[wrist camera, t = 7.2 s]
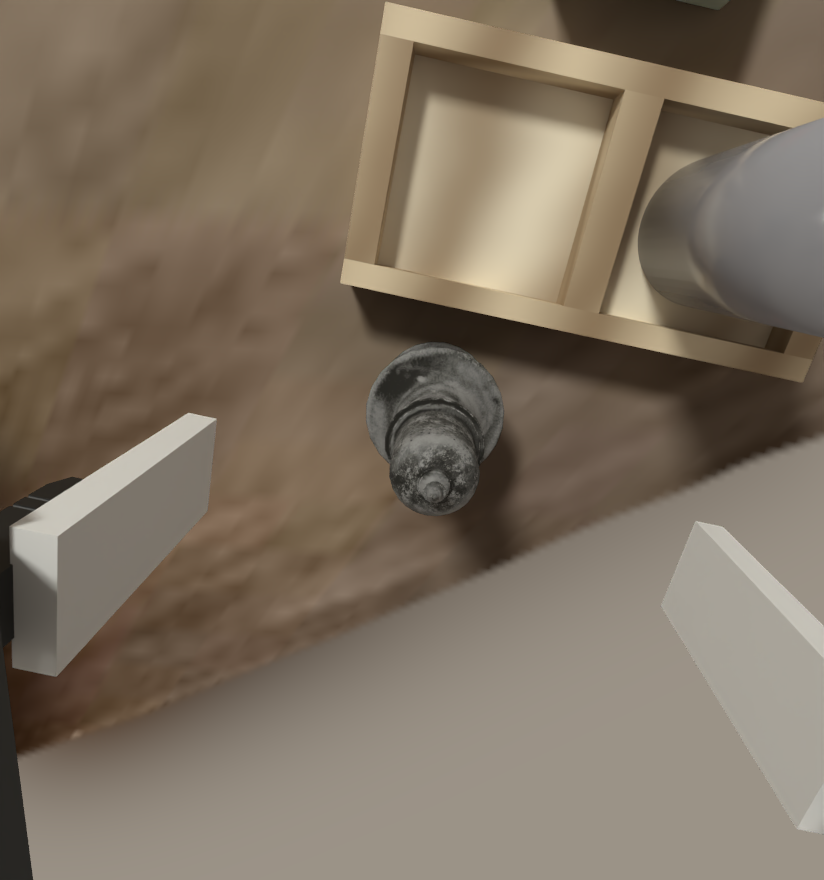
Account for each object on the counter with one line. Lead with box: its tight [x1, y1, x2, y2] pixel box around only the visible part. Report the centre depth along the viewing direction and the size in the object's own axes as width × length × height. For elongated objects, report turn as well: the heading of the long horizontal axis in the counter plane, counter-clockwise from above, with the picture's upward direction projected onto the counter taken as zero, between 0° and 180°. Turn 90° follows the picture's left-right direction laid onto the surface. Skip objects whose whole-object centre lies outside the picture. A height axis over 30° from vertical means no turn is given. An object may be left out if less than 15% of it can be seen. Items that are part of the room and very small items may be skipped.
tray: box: [340, 2, 824, 383], centre depth 24 cm, size 20×10×2 cm, turn 78°
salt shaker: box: [366, 342, 504, 516], centre depth 22 cm, size 6×6×12 cm
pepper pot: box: [638, 118, 824, 338], centre depth 18 cm, size 6×6×14 cm
